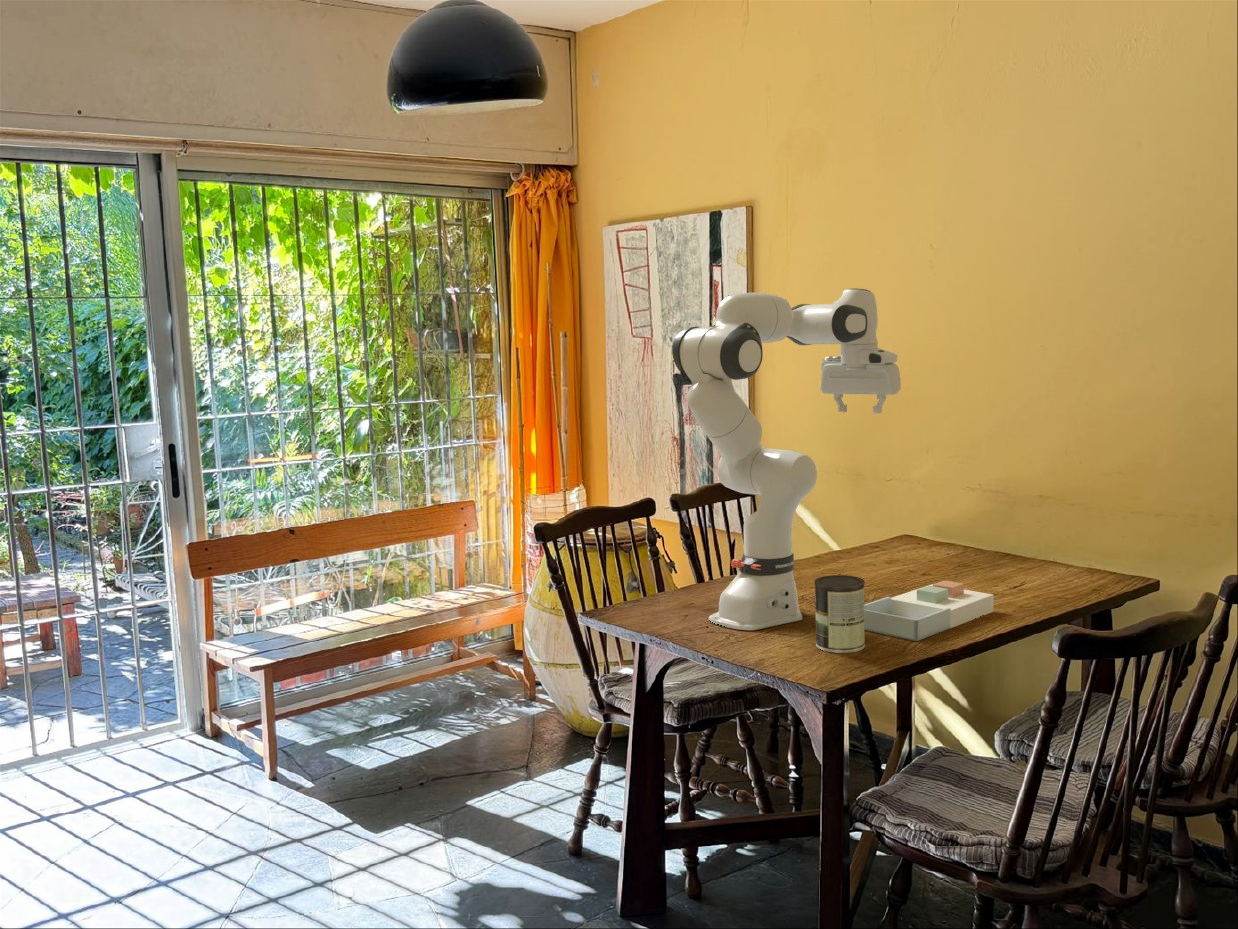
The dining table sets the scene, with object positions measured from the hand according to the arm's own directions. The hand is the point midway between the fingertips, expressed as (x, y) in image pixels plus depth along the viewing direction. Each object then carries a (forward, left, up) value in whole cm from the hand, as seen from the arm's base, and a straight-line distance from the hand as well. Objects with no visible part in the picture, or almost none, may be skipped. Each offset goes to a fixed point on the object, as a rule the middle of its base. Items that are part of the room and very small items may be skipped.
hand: (859, 412), depth 277 cm
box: (-22, -26, -45) cm, 56 cm away
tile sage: (-10, -26, -41) cm, 50 cm away
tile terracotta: (-3, -26, -41) cm, 49 cm away
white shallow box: (-6, -26, -45) cm, 52 cm away
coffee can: (-41, -24, -45) cm, 66 cm away
